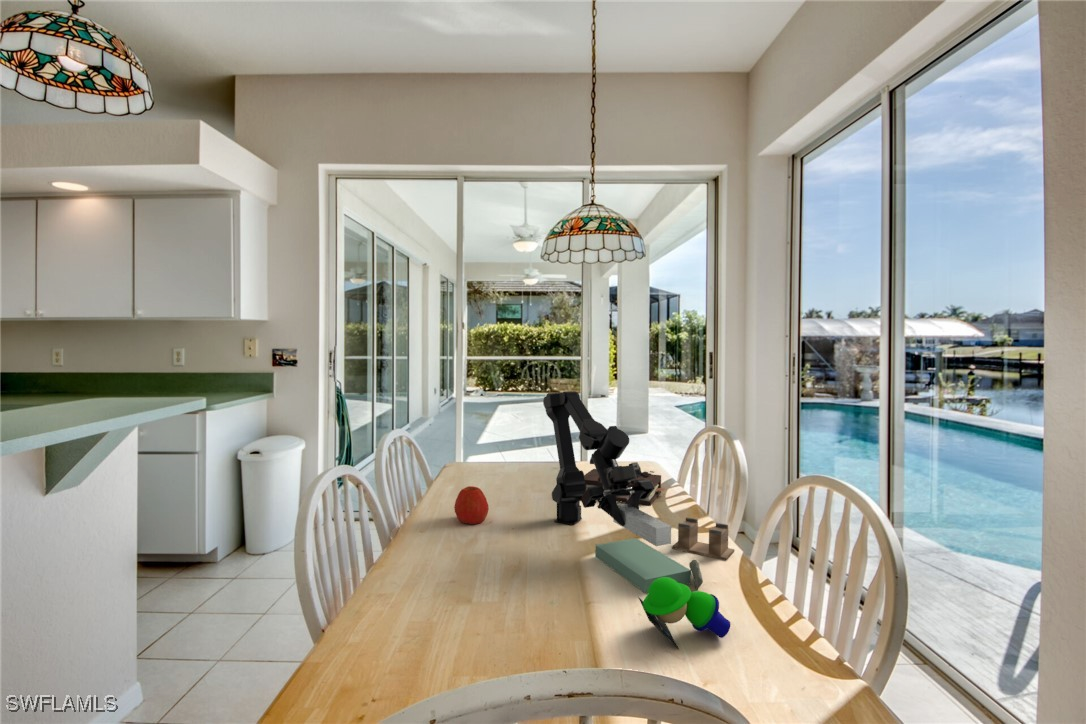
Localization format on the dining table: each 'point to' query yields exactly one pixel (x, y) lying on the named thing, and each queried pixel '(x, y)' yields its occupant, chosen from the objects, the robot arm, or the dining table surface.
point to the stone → (696, 573)
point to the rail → (645, 525)
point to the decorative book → (630, 485)
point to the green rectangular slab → (641, 563)
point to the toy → (682, 608)
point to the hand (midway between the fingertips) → (630, 524)
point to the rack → (691, 544)
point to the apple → (471, 505)
